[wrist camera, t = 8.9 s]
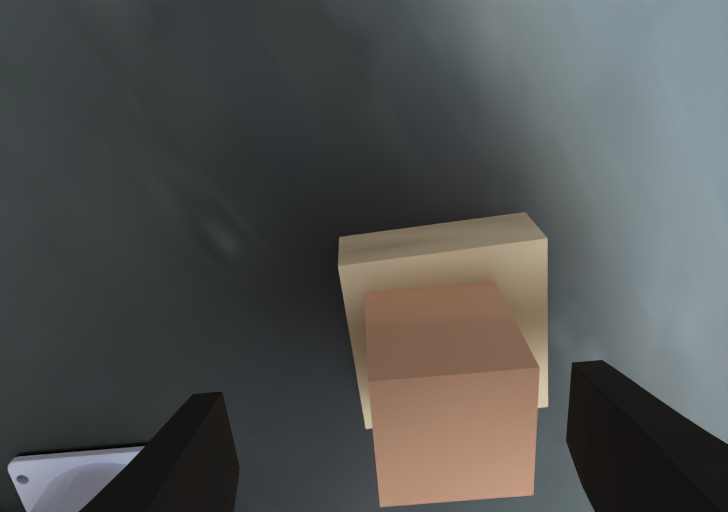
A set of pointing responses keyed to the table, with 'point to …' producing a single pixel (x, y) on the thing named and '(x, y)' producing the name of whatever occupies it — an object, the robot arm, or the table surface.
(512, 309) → the maple slab
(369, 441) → the table surface
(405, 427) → the terracotta block
